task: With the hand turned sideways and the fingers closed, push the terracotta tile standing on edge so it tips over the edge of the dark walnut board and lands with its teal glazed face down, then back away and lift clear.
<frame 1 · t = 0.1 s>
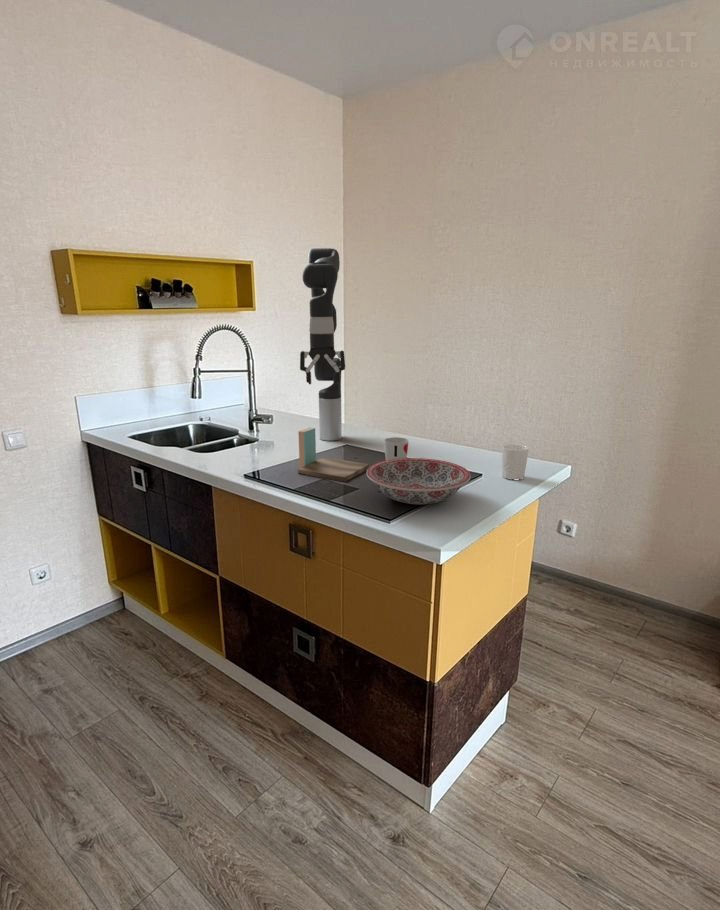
hand: (323, 383, 167), 29 cm above the countertop, tool pointing down, fingers open, 8 cm apart
cup: (395, 469, 177), on the countertop
ceramic bowl: (417, 499, 149), on the countertop
tile: (308, 466, 180), on the countertop
walnut board: (334, 470, 175), on the countertop
white cup: (512, 477, 168), on the countertop
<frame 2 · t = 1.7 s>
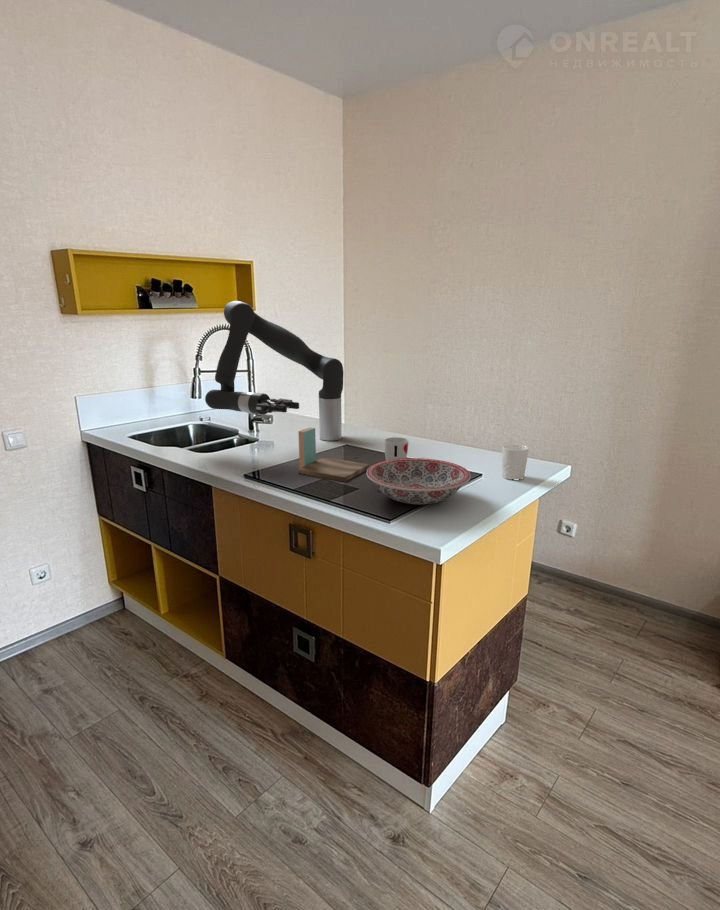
hand: (292, 407, 177), 20 cm above the countertop, tool horizontal, fingers open, 6 cm apart
nothing on the countertop moved.
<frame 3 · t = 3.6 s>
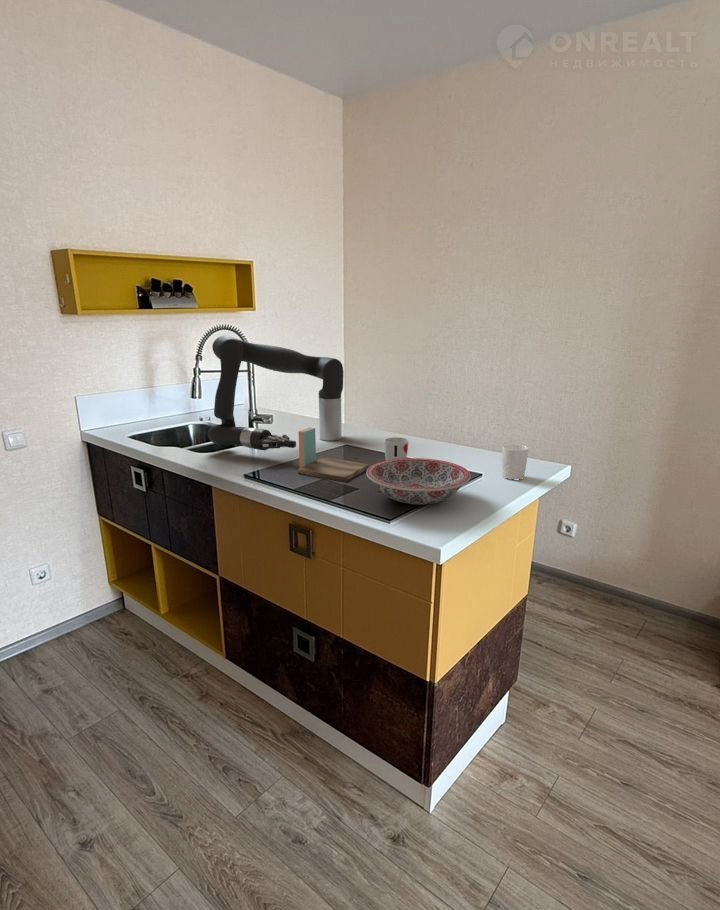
hand: (294, 444, 180), 7 cm above the countertop, tool horizontal, fingers closed
nothing on the countertop moved.
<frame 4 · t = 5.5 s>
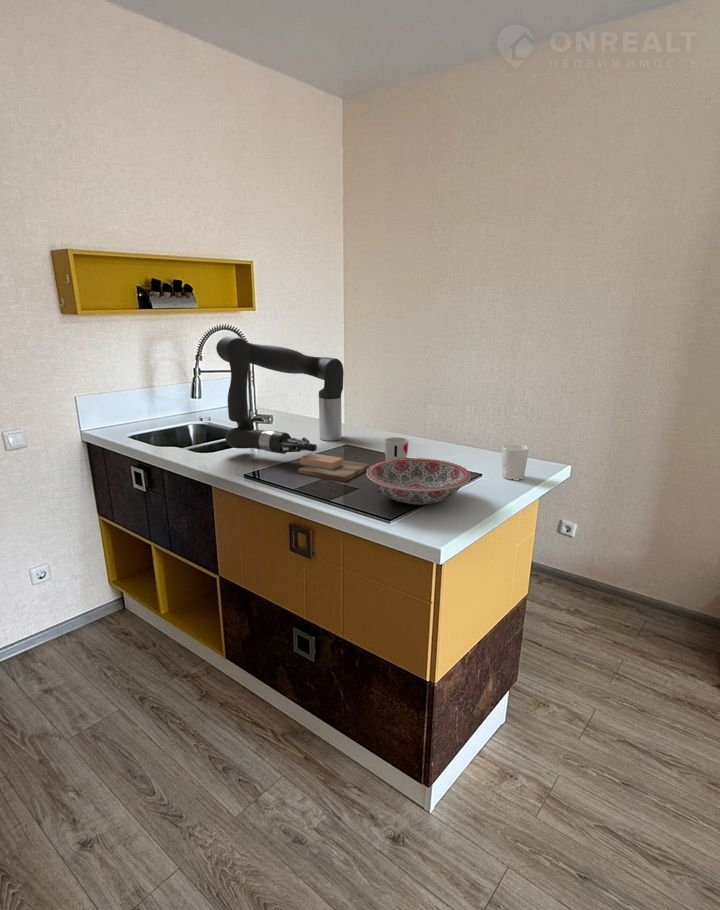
hand: (315, 448, 176), 7 cm above the countertop, tool horizontal, fingers closed
tile: (305, 458, 180), point 3 cm above the countertop, tilted 90°, touching walnut board
everything else where it was.
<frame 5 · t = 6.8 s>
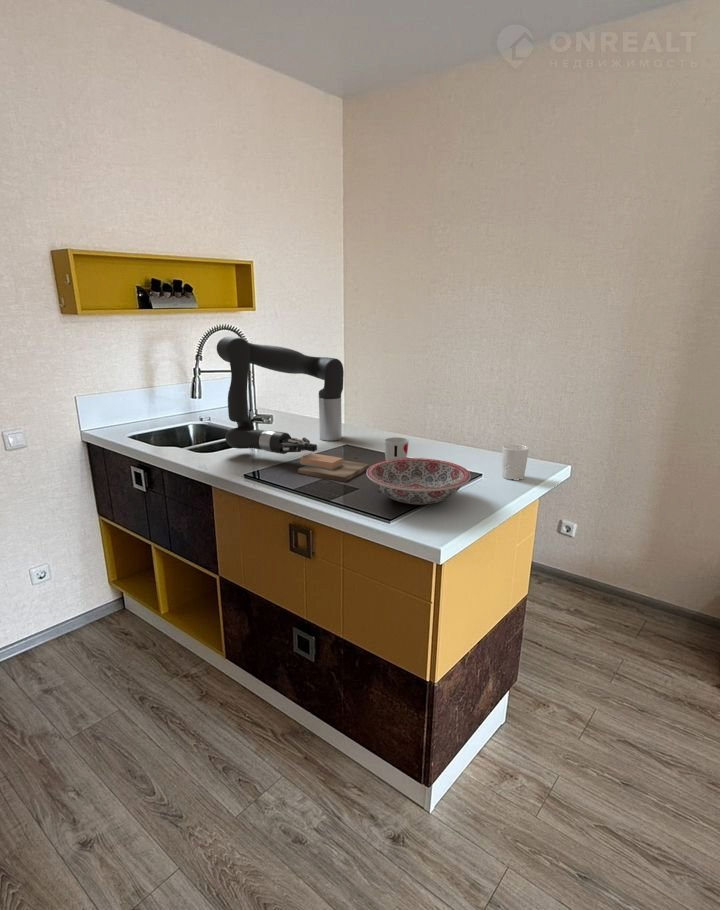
hand: (315, 448, 176), 7 cm above the countertop, tool horizontal, fingers closed
nothing on the countertop moved.
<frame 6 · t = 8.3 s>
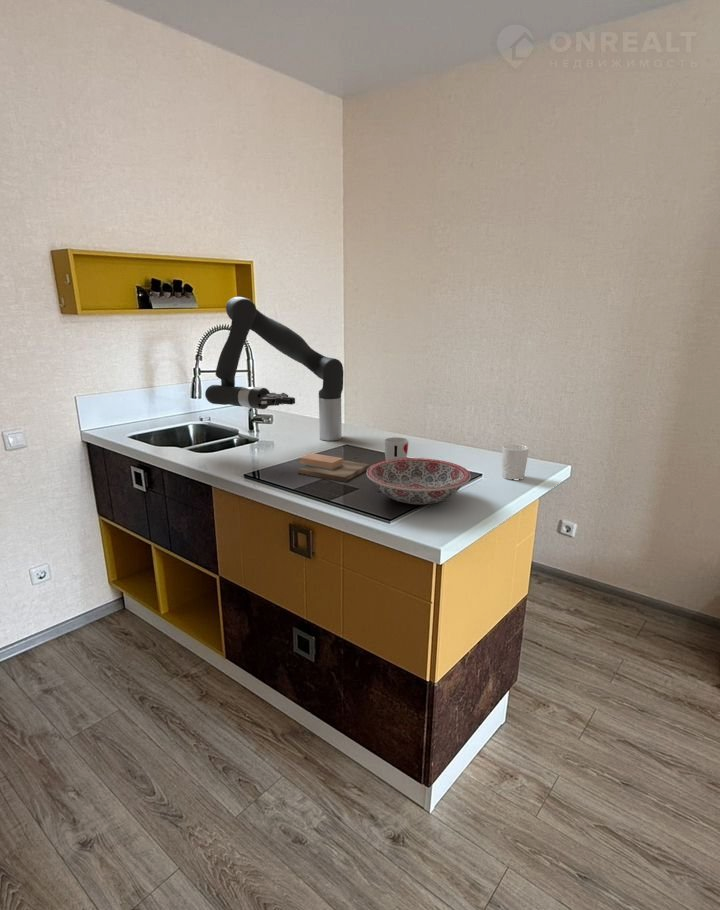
hand: (293, 401, 176), 22 cm above the countertop, tool horizontal, fingers closed
nothing on the countertop moved.
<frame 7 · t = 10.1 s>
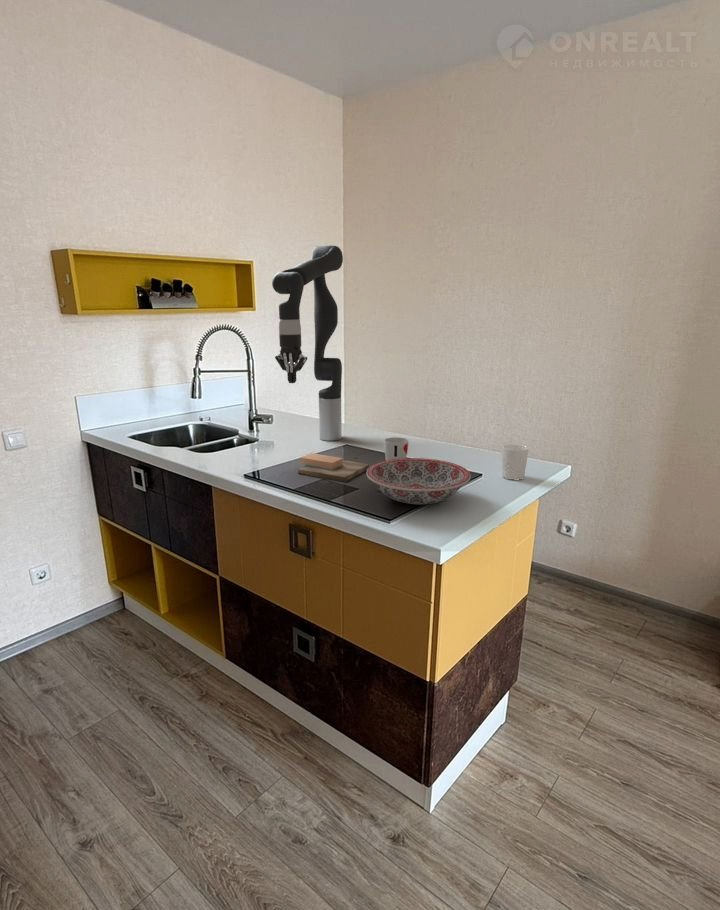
hand: (292, 382, 186), 27 cm above the countertop, tool pointing down, fingers closed
nothing on the countertop moved.
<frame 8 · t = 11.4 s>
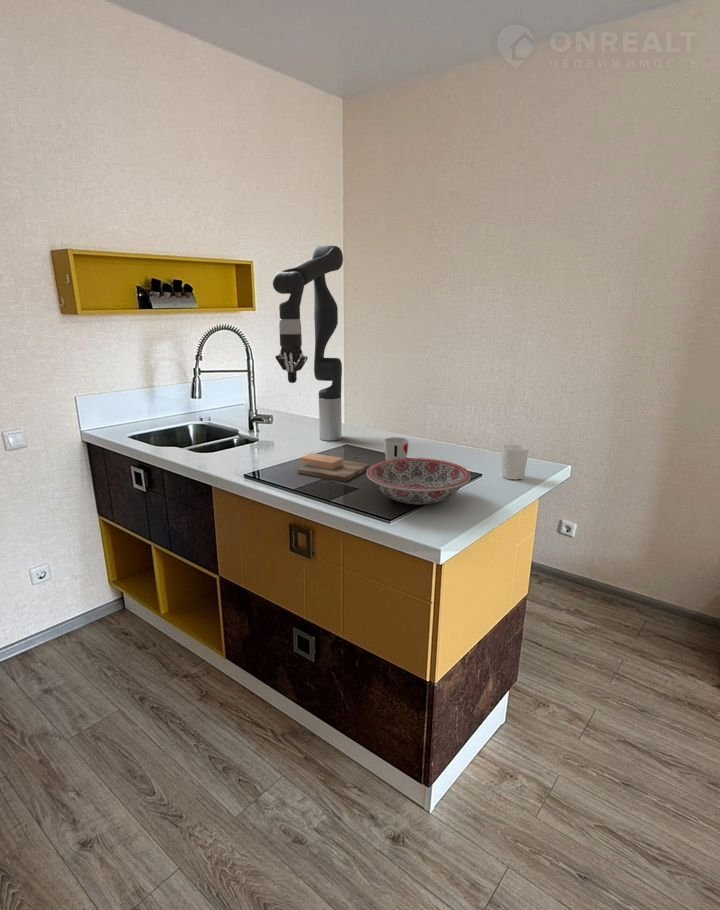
hand: (292, 382, 186), 27 cm above the countertop, tool pointing down, fingers closed
nothing on the countertop moved.
at the end: tile tilted 90°; tile touching walnut board; tile 11.5 cm from the walnut board (horizontally) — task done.
